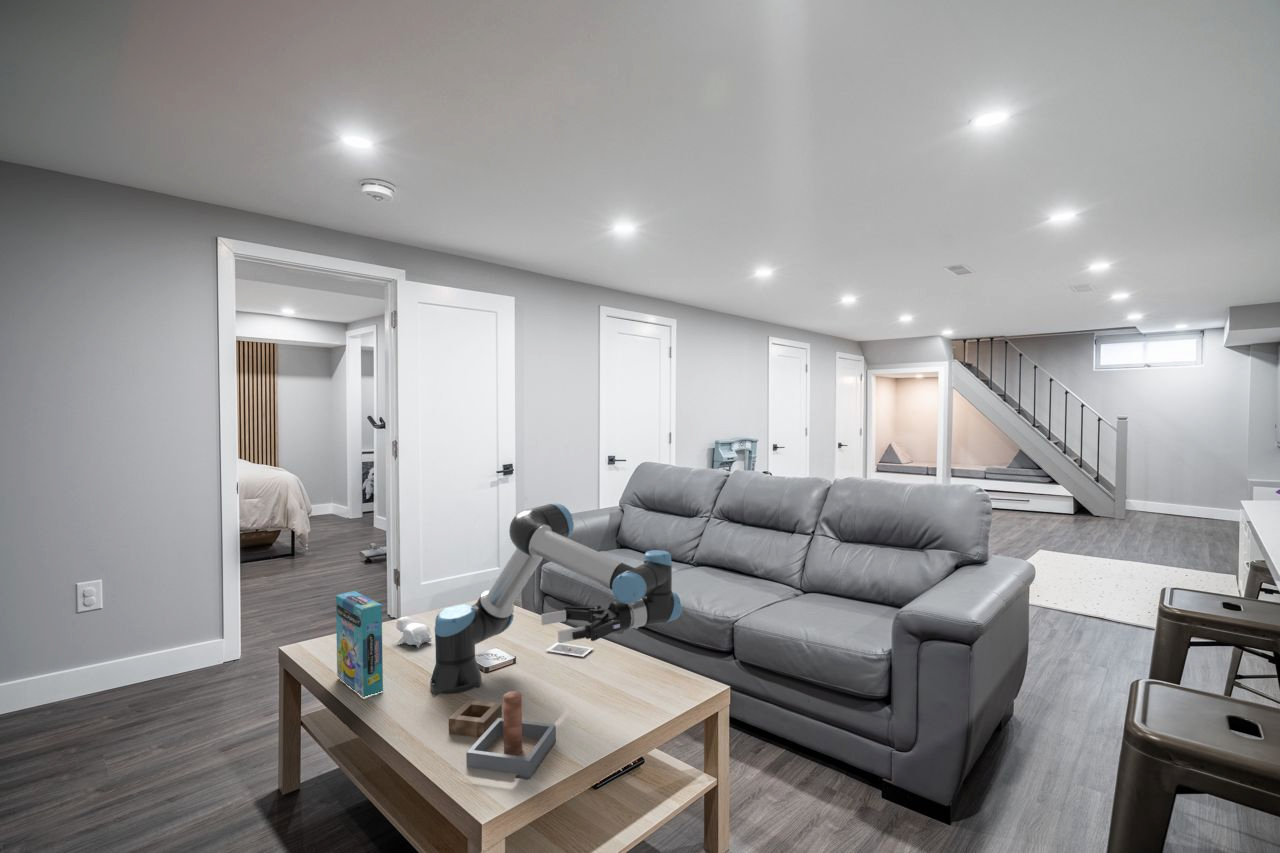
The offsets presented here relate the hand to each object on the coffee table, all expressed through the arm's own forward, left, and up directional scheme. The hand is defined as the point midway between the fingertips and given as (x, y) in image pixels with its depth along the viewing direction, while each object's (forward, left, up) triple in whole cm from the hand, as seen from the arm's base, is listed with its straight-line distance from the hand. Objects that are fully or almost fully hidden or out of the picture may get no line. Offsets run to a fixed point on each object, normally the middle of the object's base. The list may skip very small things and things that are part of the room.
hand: (549, 627), depth 148 cm
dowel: (-7, -6, -29) cm, 31 cm away
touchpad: (-16, +57, -31) cm, 67 cm away
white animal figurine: (-76, +53, -30) cm, 97 cm away
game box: (-71, +18, -30) cm, 79 cm away
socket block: (-22, +3, -30) cm, 37 cm away
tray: (-7, -6, -30) cm, 31 cm away
